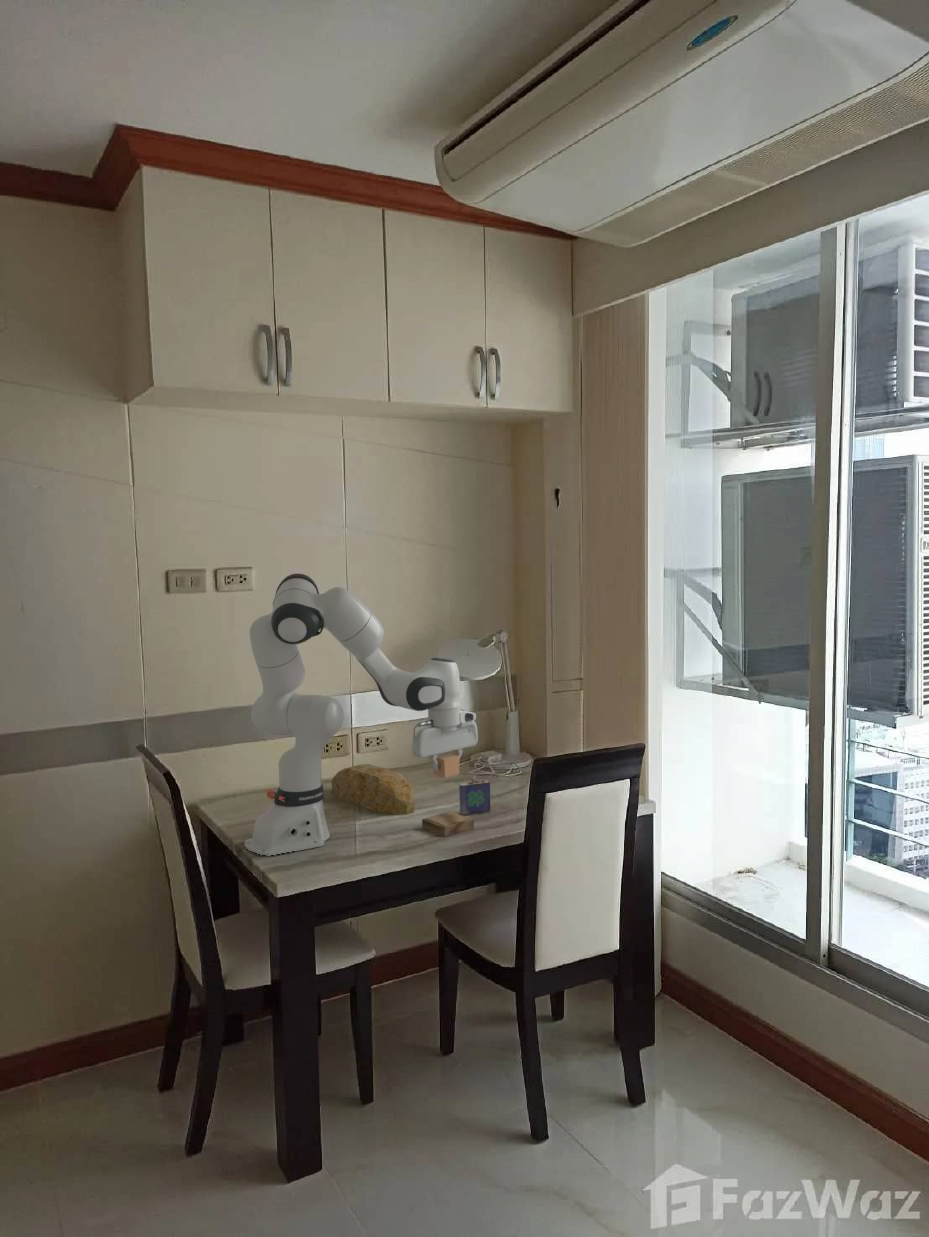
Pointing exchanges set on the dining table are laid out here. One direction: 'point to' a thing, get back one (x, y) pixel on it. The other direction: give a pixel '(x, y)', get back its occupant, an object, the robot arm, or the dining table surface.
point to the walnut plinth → (447, 823)
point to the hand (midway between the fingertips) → (446, 767)
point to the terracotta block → (447, 765)
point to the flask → (474, 797)
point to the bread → (375, 789)
